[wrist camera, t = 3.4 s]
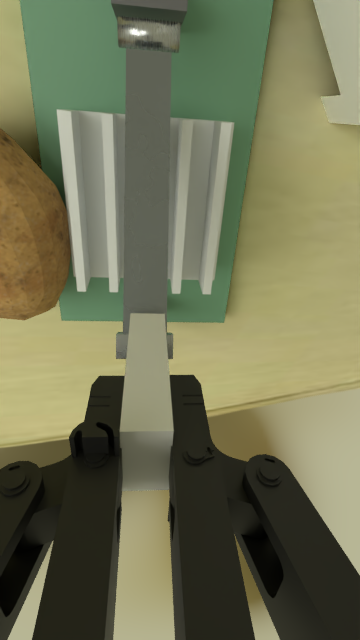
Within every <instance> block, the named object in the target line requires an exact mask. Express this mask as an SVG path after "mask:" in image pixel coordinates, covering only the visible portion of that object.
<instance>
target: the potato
mask: <svg viewBox="0 0 360 640" xmlns="http://www.w3.org/2000/svg"><path fill="white" fill-rule="evenodd" d="M70 257H71V250H70V238H69V226H68V217H67V210H66V208H65V205H64V203H63V201H62V198H61V196H60V194H59V191H58V189H57V187H56V185H55V184H54V183H53V182H52V181H51V180H50V179H49V178H48V176H47V175H46V174H45V173H44V172H43V171H42V170H41V169H40V168H39V167H38V166H37V164H36V163H35V162H34V161H33V160H32V159H31V158H30V157H29V156H28V155H27V154H26V153H25V152H24V150H23V149H22V148H21V147H20V146H19V145H18V144H17V143H16V142H15V141H14V140H13V139H12V138H11V137H10V136H9V135H8V134H6V133H5V132H4V131H3V130H2V129H0V318H7V319H18V320H26V319H29V318H31V317H34V316H36V315H39V314H41V313H44V312H46V311H48V310H50V309H51V308H53V307H54V306H56V304H57V301H58V299H59V297H60V295H61V293H62V291H63V289H64V287H65V285H66V282H67V279H68V276H69V266H70Z"/></svg>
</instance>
